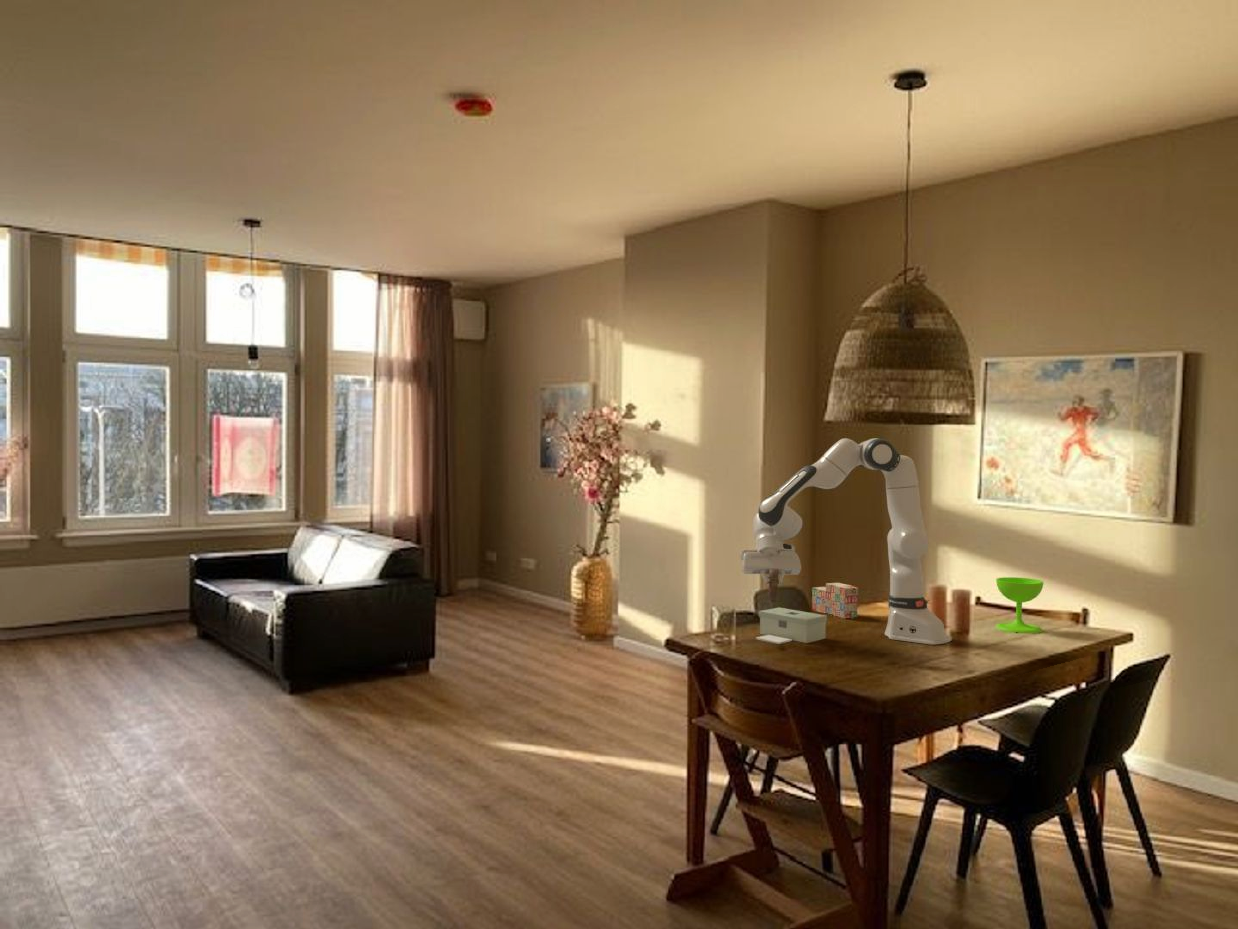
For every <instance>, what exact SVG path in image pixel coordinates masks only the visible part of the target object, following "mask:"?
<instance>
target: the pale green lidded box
mask: <svg viewBox="0 0 1238 929" xmlns="http://www.w3.org/2000/svg"><path fill="white" fill-rule="evenodd" d="M758 617H759V634H760V635H763V636H765V635H772V636H777V637H782V638H787V639H792V641H794V642H799V643H805V644H808V643H813V642H817V641H821V640H824V639H826V627H827V626H826V625H827V624H826V623H827V621H828V615H827V614H819V613H813V612H807V611H803V610H797V609H790V608H785V607H774V608H769V609H763V610H759V611H758Z"/></svg>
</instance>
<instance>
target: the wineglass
mask: <svg viewBox="0 0 1238 929" xmlns="http://www.w3.org/2000/svg"><path fill="white" fill-rule="evenodd" d="M995 580H996V586H997V589H998V591H999V592H1000V593H1001V595H1002V596H1004V597H1005V598H1006V599H1007V600H1009V601H1011V602H1015V603H1016V607H1015V608H1016V610H1015V612H1016V613H1015V614H1016V615H1015V620H1014V621H1012V622H1008V621H1007V622H1000V623H997V624H996V625H995V627H996V628H997V630H998V629H999V631H1001V630H1002V631H1001V632H1006V633H1007V632H1008V633H1012V632H1018V633H1017V634H1021V633H1035V634H1040V633H1039V632H1041V633H1043V629H1042V628H1041V627H1040V626H1038V625H1036V624H1031V623H1025V622H1024V621H1023V619H1022V618H1023V616H1022V614H1023V603H1027V602H1031V601H1032V600H1034V599H1037V597H1039V595H1040V594H1041V592H1042V589H1043V587H1044V581H1043V580H1041V579H1035V578H1028V577H1017V576H1014V577H1013V576H1012V577H1011V576H1009V577H1008V576H1007V577H1006V576H1003V577H997V578H996V579H995ZM996 628H995V629H996Z"/></svg>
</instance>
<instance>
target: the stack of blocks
mask: <svg viewBox="0 0 1238 929" xmlns="http://www.w3.org/2000/svg"><path fill="white" fill-rule="evenodd" d="M858 589H859V588H858V587H857V586H853V585H850V584H845V583H841V582H832V583H831V582H830V583H829V582H827V583H825V586H817V587H811V595H812V597H811V610H813V611H816V612H818V613H822V614H825V613H828V614H827V615H829V614H833V615H834V616H833V617H835V616H838V617H837V618H839V617H841V618H840V619H842V618H844V619H843V620H846V619H845V618H851V619H855V618H854V617H857V618H858V602H859V601H858V600H859V599H858V597H859V595H858V593H859V590H858Z"/></svg>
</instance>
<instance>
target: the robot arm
mask: <svg viewBox="0 0 1238 929" xmlns="http://www.w3.org/2000/svg"><path fill="white" fill-rule="evenodd" d="M858 466H859V467H861V468H865V469H868V470H872V471H877V470H878V471H881V472H882V474H883V476H884V479H885V491H886V502H887V511H888V515H889V519H890V522H891V523H890V524H891V529H890V530H889V531H888V533H887V536H886V540H887V553H888V562H889V564H888V565H889V575H890V576H889V577H890V579H889V584H890V585H889V586H890V587H889V594H888V616H887V617H888V619H887V623H886V624H887V625H886V628H885V631H884V635H885V636H887V637H888V639H890V640H893V641H894V640H896V641H904V642H909V643H911V642H912V643H916V644H917V643H918V644H923V645H924V644H925V645H932V646H933V645H942V644H946V643H949V642H951V641H952V636H950V635H946V631H945V625H944V623H943V621H942V620H941V619H940V618H939V617H938V616H936V614H935V613H933V612H932V611H931V610H930V609H929V608H928V604H930V599H928V600H926V599H925V597H924V584H923V583H924V573H923V567H922V562H921V557H922V556H924V555H925V554H926V553H927V550H928V549H929V540H928V538H927V531H926V525H925V521H924V517H923V513H922V507H921V497H920V486H919V478H918V474H917V469H916V465H915V462H914V460H913V459H912V458H911V457H910V456H907V455H904V454H903V455H902V454H901V455H900V454H899V452H898V450H896V448H895V446H894V445H893V444H892V443H891V442H890V441H889V440H887V439H884V438H877V437H876V438H875V437H874V438H870V439H865V440H863V441H860V442H858V443H857V442H856V441H854V440H852V439H850V438H845V437H844V438H841V439H839V440H838V441H836V442H835V443H834V444H833V445H831V447H830V448H829V449H828V450H826V452H824V454H823V455H822V456H821V457H820V458H819V459H818V460H817V461H816V462H814V463H813V464H811V465H805V466H803V467H801V469H799V470H798V471H797V472H796V473H795V474H794V475H793V476H791V477H790V478H789V479H788V480H787V481H786V482H785V483H783V484H782V485H781V486H780V487H779V488H778V489H777V490H776V491H775V492H773V493H772V494H771V495H769V496H767V497H765V498H764V499H763V500H762V501H761V502H760V504H759V505H758V513H757V512H756V514H755V515H754V518H753V522H752V528H753V529H752V530H753V531H752V532H753V537H754V540H755V544H754V546H755V549H750V550H748V549H745V550H742V551H741V552H740V558H741V560H742V565H741V566H742V568H741V569H742V572H743V573H744V574H746V575H760V577H761V578H762V579H763V580H764V584H767V585H769V583H770V577H769V576H767V575H769V572H770V569H778V585H779V584H780V585H782V584H783V581H784V580H783V579H784V577H785V576H786V575H787V576H789V575H791V576H797V575H800V573H801V571H802V564H801V560H800V557H799V555H798V554H797V553H796V552H795V550H796V547H795V545H793V544H790V543H786V542H784V541H787V540H791V539H793V538H795V537H796V536H798V535H799V534H800V533H801V531H802V529H803V526H804V520H803V518H802V517H801V516H800V515H799V514H798V513H797V512H796V511H795V510H794V509H792V508H791V507H790V506H789V505H788V504H789V502H791V501H792V500H793V499H794V498H795V497H796V496H797V495H798V494H799V493H800V492H801V491H803V490H804V489H806V488H809V487H815V488H820V489H824V490H829V489H830V490H832V489H835V488H837V487H838V486H840V485H841V484H842V483H843V482H844V481H845V480H846V478H847V477H848V475H849V474H850V473H851V471H852V470H854V469H855V468H857V467H858Z"/></svg>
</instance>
